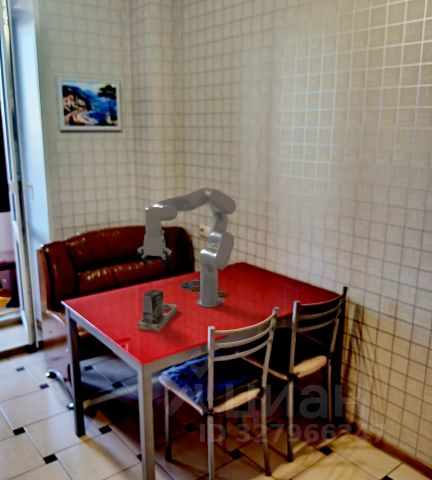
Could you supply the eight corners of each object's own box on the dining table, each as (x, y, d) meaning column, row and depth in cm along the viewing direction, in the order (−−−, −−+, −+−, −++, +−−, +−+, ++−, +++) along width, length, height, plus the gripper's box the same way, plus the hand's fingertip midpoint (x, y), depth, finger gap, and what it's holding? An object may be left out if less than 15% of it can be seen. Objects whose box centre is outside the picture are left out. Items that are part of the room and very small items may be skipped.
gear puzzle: (233, 294, 272) (233, 287, 271) (214, 301, 260) (214, 294, 259) (195, 282, 292) (195, 276, 291) (177, 288, 280) (177, 281, 279)
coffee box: (153, 328, 222) (153, 296, 218) (142, 325, 224) (142, 294, 220) (163, 321, 230) (163, 291, 226) (153, 318, 232) (152, 288, 228)
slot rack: (177, 310, 245) (177, 305, 244) (159, 331, 219) (159, 325, 218) (158, 308, 247) (158, 302, 246) (137, 328, 222) (137, 322, 221)
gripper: (173, 231, 222) (174, 265, 227) (139, 229, 226) (141, 262, 231) (168, 235, 215) (169, 269, 220) (133, 233, 219) (135, 267, 223)
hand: (154, 266), depth 225 cm, fingers open, 9 cm apart
